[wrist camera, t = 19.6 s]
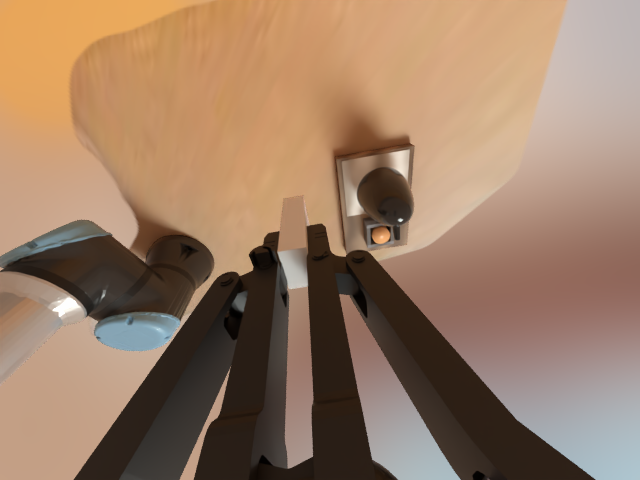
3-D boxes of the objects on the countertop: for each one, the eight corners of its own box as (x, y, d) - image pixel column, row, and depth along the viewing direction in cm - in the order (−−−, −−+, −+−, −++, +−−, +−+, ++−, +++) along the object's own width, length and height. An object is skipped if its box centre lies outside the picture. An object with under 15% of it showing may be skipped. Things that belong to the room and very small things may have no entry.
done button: (369, 238, 58) (373, 245, 56) (369, 224, 56) (372, 231, 53) (386, 235, 58) (390, 242, 56) (386, 221, 56) (390, 227, 53)
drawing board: (345, 250, 64) (349, 263, 59) (335, 156, 50) (339, 164, 45) (404, 240, 63) (412, 252, 59) (410, 143, 49) (421, 149, 45)
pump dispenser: (354, 210, 55) (371, 248, 42) (351, 165, 49) (371, 194, 36) (397, 203, 55) (428, 239, 42) (400, 158, 49) (436, 184, 36)
